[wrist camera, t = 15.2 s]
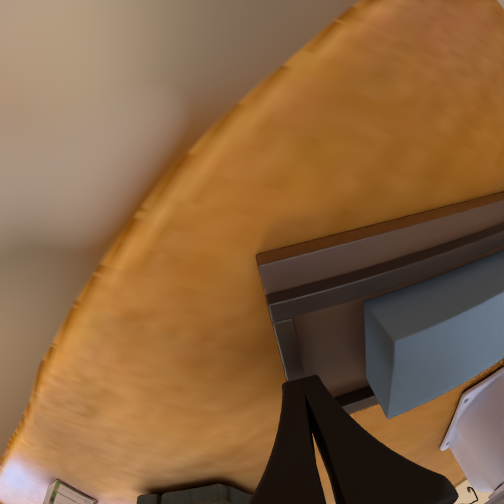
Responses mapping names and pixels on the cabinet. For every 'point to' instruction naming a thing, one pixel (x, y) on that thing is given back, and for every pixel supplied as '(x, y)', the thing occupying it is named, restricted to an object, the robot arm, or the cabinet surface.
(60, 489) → the syrup box
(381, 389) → the loose pad
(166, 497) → the communication device
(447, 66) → the cabinet surface
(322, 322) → the dark brown wooden tray
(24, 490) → the cabinet surface
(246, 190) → the cabinet surface
